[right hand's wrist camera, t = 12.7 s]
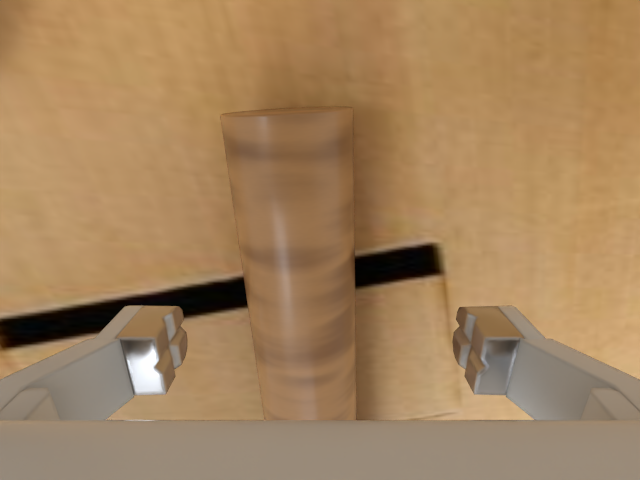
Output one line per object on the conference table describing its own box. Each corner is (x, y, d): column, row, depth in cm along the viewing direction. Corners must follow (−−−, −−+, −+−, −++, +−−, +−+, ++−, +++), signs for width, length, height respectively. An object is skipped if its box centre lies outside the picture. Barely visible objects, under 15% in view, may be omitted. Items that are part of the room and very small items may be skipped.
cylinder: (241, 110, 20) (198, 117, 14) (352, 105, 19) (354, 110, 14) (282, 442, 30) (267, 525, 24) (356, 445, 29) (358, 530, 24)
